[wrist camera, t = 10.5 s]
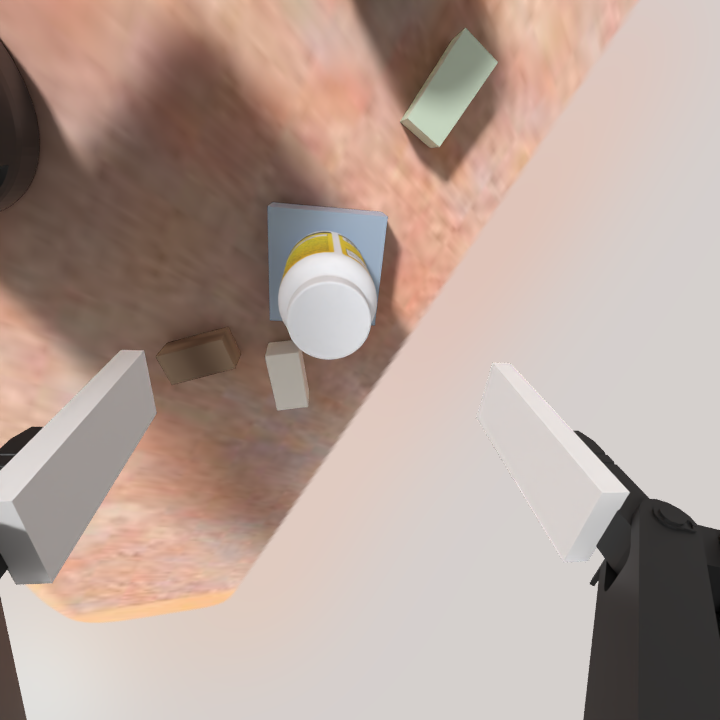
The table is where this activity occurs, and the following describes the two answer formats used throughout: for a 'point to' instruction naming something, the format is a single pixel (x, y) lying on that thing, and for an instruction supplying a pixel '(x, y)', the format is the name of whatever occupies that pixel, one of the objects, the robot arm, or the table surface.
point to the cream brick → (287, 375)
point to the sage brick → (449, 89)
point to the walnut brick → (199, 356)
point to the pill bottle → (327, 296)
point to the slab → (304, 219)
